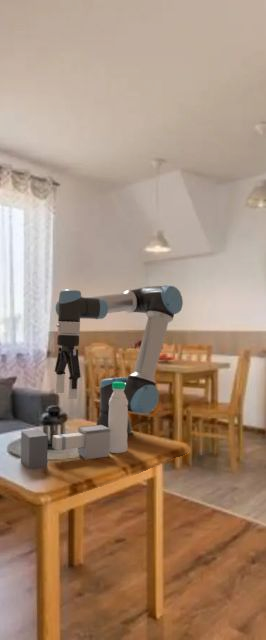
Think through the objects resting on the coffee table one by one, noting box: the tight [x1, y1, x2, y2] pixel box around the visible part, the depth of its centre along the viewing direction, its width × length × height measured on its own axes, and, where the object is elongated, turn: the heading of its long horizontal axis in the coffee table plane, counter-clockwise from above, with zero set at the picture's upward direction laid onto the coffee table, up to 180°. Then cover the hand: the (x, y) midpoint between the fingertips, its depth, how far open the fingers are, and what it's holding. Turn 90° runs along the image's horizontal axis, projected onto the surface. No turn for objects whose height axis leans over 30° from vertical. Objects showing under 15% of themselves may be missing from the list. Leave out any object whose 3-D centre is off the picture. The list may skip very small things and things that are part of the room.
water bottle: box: [108, 382, 129, 454], centre depth 168 cm, size 7×7×25 cm
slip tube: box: [51, 432, 85, 451], centre depth 160 cm, size 19×4×4 cm, turn 120°
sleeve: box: [77, 424, 111, 460], centre depth 162 cm, size 9×7×10 cm
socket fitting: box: [20, 429, 49, 470], centre depth 152 cm, size 6×9×10 cm, turn 30°
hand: (66, 395), depth 161 cm, fingers open, 13 cm apart
